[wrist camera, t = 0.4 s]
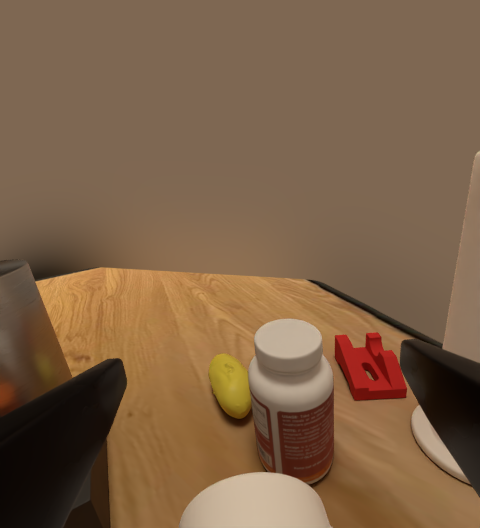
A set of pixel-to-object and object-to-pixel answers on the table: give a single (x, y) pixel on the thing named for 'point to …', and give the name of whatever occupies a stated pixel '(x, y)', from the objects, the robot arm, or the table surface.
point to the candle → (459, 321)
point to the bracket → (370, 369)
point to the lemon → (230, 385)
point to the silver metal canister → (26, 340)
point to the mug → (256, 504)
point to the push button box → (93, 498)
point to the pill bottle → (292, 400)
